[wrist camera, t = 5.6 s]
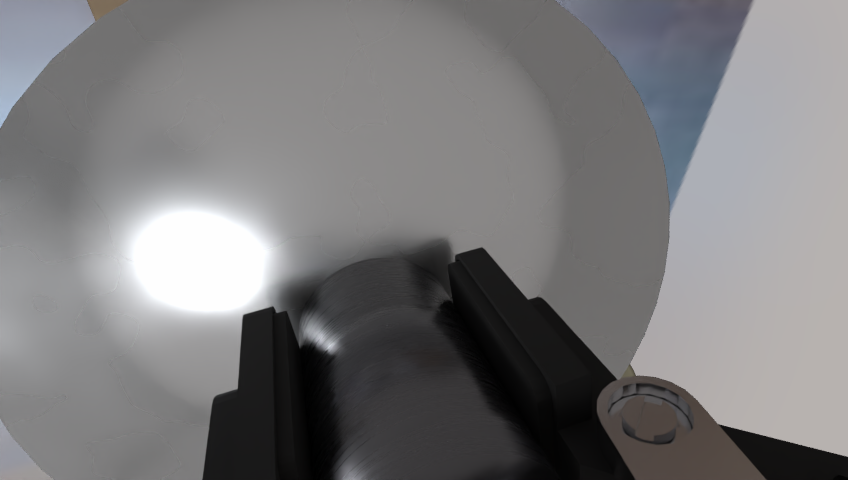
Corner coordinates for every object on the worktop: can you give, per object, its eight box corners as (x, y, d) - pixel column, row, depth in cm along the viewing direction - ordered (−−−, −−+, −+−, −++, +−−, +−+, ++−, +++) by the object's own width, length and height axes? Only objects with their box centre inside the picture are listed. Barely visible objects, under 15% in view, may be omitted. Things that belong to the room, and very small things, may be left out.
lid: (-227, 32, 7) (-1596, 138, 2) (656, -116, 9) (1137, -253, 4) (168, 591, 14) (109, 961, 8) (632, 420, 16) (811, 626, 11)
